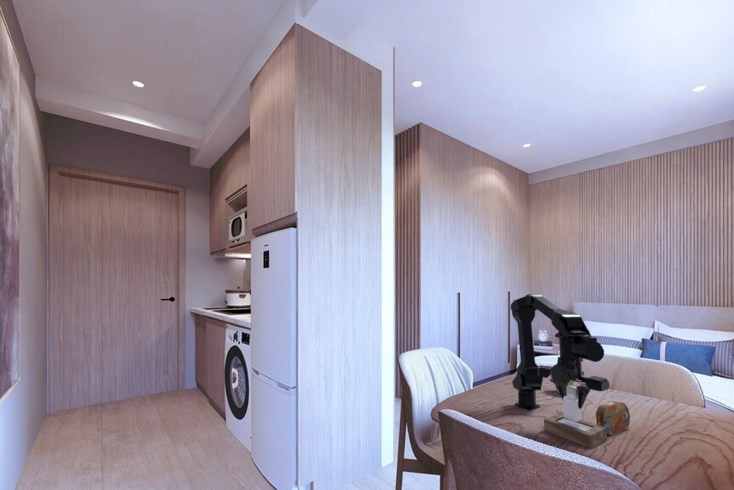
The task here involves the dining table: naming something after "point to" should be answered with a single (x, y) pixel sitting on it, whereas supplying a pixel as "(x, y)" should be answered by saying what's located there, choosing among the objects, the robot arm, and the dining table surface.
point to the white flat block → (575, 424)
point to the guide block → (576, 431)
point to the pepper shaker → (571, 405)
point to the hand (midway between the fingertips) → (572, 406)
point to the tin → (613, 417)
